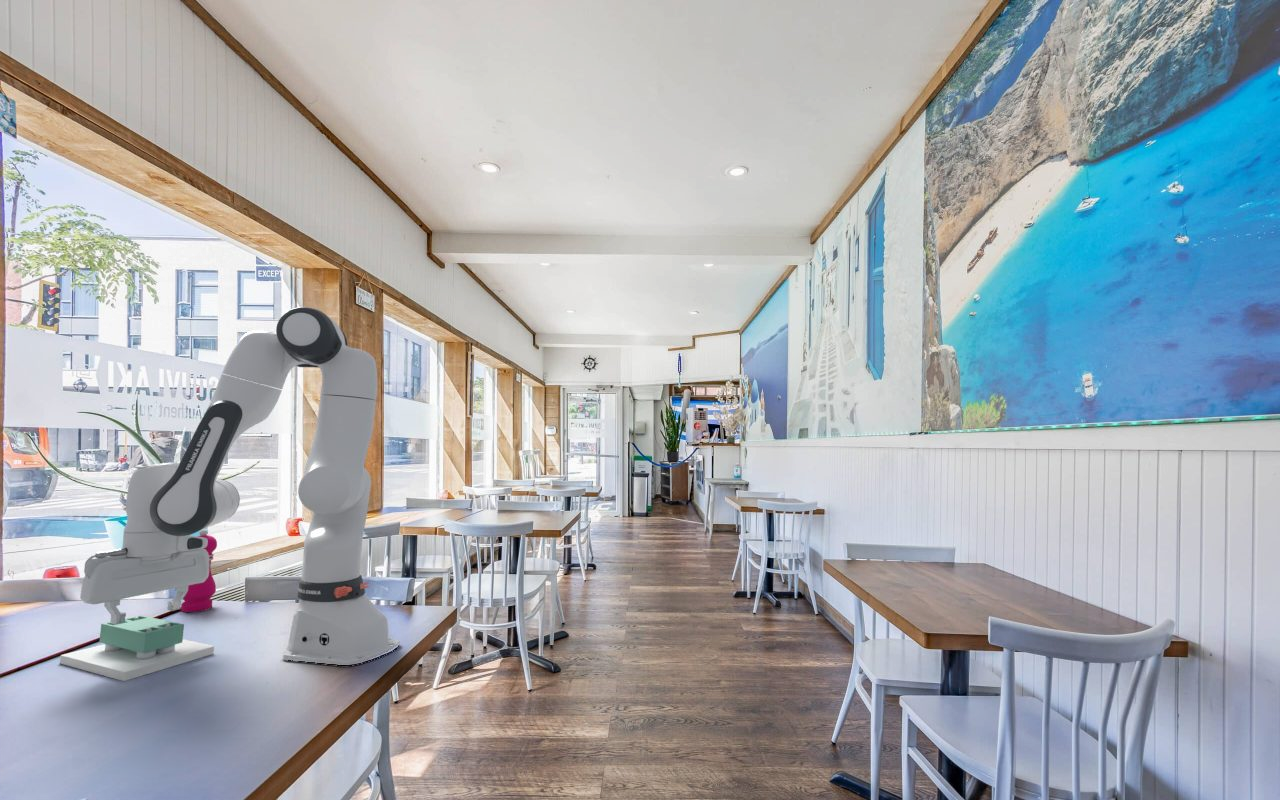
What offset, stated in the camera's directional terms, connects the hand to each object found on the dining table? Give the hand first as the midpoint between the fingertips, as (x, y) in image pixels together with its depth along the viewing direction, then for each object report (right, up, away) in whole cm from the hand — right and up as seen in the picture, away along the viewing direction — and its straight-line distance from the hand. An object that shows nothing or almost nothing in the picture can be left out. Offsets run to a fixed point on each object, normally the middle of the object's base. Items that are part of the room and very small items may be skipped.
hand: (146, 616), depth 111 cm
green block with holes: (-1, -5, -1) cm, 5 cm away
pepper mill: (-16, -11, +33) cm, 38 cm away
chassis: (-1, -8, -1) cm, 8 cm away
